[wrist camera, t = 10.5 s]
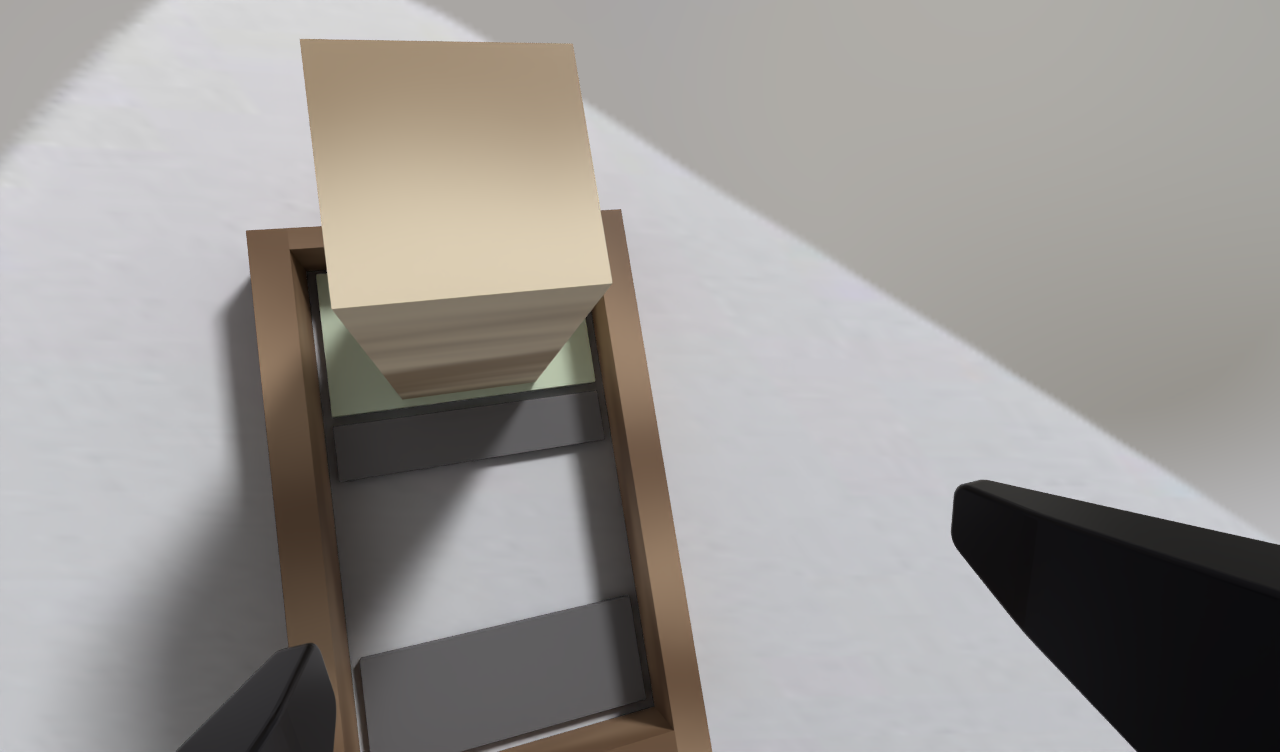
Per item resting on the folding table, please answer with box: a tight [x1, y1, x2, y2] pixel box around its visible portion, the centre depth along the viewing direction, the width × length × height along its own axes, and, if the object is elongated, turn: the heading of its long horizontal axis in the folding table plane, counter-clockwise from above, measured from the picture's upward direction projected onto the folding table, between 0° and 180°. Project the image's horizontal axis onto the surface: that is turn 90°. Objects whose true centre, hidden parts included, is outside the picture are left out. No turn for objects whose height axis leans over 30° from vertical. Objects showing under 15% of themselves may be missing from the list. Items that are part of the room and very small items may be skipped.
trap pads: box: [333, 391, 646, 752], centre depth 19 cm, size 10×8×1 cm
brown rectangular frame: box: [246, 209, 712, 752], centre depth 19 cm, size 16×10×2 cm, turn 10°
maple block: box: [300, 39, 612, 400], centre depth 15 cm, size 4×4×11 cm
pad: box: [316, 273, 595, 417], centre depth 20 cm, size 4×8×1 cm, turn 100°
